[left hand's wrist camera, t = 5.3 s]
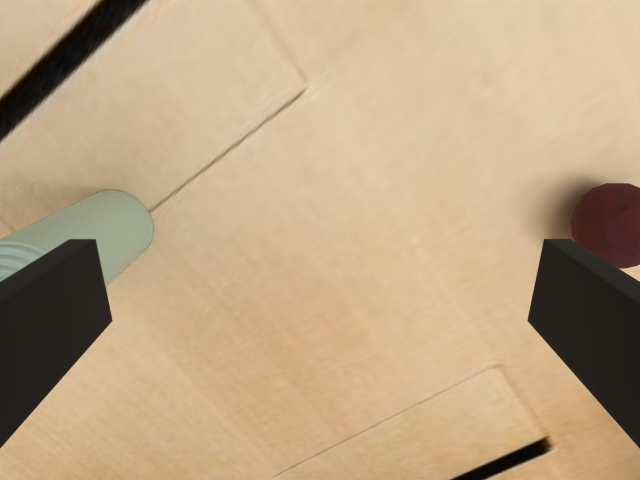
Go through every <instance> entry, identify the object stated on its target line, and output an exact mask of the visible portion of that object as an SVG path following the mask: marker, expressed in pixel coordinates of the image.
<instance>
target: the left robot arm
mask: <svg viewBox="0 0 640 480" xmlns="http://www.w3.org/2000/svg"><path fill="white" fill-rule="evenodd" d="M111 322H112V316H111V311H110V306H109V301H108V296H107V291H106V287H105V282H104V277H103V272H102V267H101V262H100V257H99V252H98V247H97V242H96V239H69V240H67V241H66V242H64V243H62V244H61V245H59V246H58V247H56V248H54V249H53V250H51V251H49V252H48V253H46V254H45V255H43V256H41V257H40V258H38V259H36V260H35V261H33V262H32V263H30V264H28V265H27V266H25V267H23V268H22V269H20V270H19V271H17V272H15V273H14V274H12V275H10V276H9V277H7V278H6V279H4V280H2V281H1V282H0V448H1V447H2V446H3V445H4V443H5V442H6V441H7V440H8V439H9V438H10V437H11V436H12V434H13V433H14V432H15V431H16V430H17V429H18V428H19V426H20V425H21V424H22V423H23V422H24V421H25V420H26V418H27V417H28V416H29V415H30V414H31V413H32V412H33V410H34V409H35V408H36V407H37V406H38V405H39V404H40V403H41V401H42V400H43V399H44V398H45V397H46V396H47V395H48V393H49V392H50V391H51V390H52V389H53V388H54V387H55V385H56V384H57V383H58V382H59V381H60V380H61V379H62V378H63V376H64V375H65V374H66V373H67V372H68V371H69V370H70V368H71V367H72V366H73V365H74V364H75V363H76V362H77V360H78V359H79V358H80V357H81V356H82V355H83V354H84V353H85V351H86V350H87V349H88V348H89V347H90V346H91V345H92V343H93V342H94V341H95V340H96V339H97V338H98V337H99V335H100V334H101V333H102V332H103V331H104V330H105V329H106V327H107V326H108V325H109V324H110V323H111ZM528 322H529V323H530V324H531V325H532V326H533V327H534V329H535V330H536V331H537V332H538V333H539V334H540V335H541V337H542V338H543V339H544V340H545V341H546V342H547V343H548V345H549V346H550V347H551V348H552V349H553V350H554V351H555V353H556V354H557V355H558V356H559V357H560V358H561V359H562V360H563V362H564V363H565V364H566V365H567V366H568V367H569V368H570V370H571V371H572V372H573V373H574V374H575V375H576V376H577V378H578V379H579V380H580V381H581V382H582V383H583V384H584V385H585V387H586V388H587V389H588V390H589V391H590V392H591V393H592V395H593V396H594V397H595V398H596V399H597V400H598V401H599V403H600V404H601V405H602V406H603V407H604V408H605V409H606V410H607V412H608V413H609V414H610V415H611V416H612V417H613V418H614V420H615V421H616V422H617V423H618V424H619V425H620V426H621V428H622V429H623V430H624V431H625V432H626V433H627V434H628V436H629V437H630V438H631V439H632V440H633V441H634V442H635V443H636V445H637V446H638V447H639V448H640V282H639V281H638V280H636V279H634V278H633V277H631V276H630V275H628V274H626V273H625V272H623V271H621V270H620V269H618V268H617V267H615V266H613V265H612V264H610V263H608V262H607V261H605V260H604V259H602V258H600V257H599V256H597V255H595V254H594V253H592V252H591V251H589V250H587V249H586V248H584V247H582V246H581V245H579V244H578V243H576V242H574V241H573V240H571V239H544V242H543V247H542V252H541V257H540V262H539V267H538V272H537V277H536V282H535V287H534V291H533V296H532V301H531V306H530V311H529V316H528Z"/></svg>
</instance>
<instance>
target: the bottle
mask: <svg viewBox="0 0 640 480" xmlns="http://www.w3.org/2000/svg"><path fill="white" fill-rule="evenodd" d="M152 237H153V222H152V219H151V216H150V214H149V212H148V211H147V209H146V208H145V206H144V205H143V204H142V203H141V202H140V201H139V200H137V199H136V198H135V197H133V196H131V195H129V194H127V193H125V192H122V191H117V190H104V191H100V192H97V193H95V194H93V195H91V196H89V197H87V198H85V199H83V200H81V201H79V202H77V203H75V204H73V205H71V206H68V207H66V208H64V209H62V210H60V211H58V212H56V213H54V214H52V215H50V216H48V217H46V218H44V219H42V220H40V221H37V222H35V223H33V224H31V225H29V226H27V227H25V228H23V229H21V230H19V231H17V232H15V233H13V234H11V235H9V236H6V237H4V238H2V239H0V282H1V281H2V280H4V279H6V278H7V277H9V276H10V275H12V274H14V273H15V272H17V271H19V270H20V269H22V268H23V267H25V266H27V265H28V264H30V263H32V262H33V261H35V260H36V259H38V258H40V257H41V256H43V255H45V254H46V253H48V252H49V251H51V250H53V249H54V248H56V247H58V246H59V245H61V244H62V243H64V242H66V241H67V240H69V239H96V242H97V247H98V252H99V257H100V262H101V267H102V272H103V277H104V282H105V287H106V286H107V285H109V284H110V283H111V282H112V281H113V280H114V279H115V278H116V277H117V276H118V275H119V274H120V273H121V272H122V271H123V270H124V269H125V268H127V267H128V266H129V265H130V264H131V263H132V262H133V261H134V260H135V259H136V258H137V257H138V256H139V255H140V254H141V253H142V252H143V251H145V250H146V248H147V247H148V246H149V244H150V243H151V240H152Z"/></svg>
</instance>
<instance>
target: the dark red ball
mask: <svg viewBox="0 0 640 480" xmlns="http://www.w3.org/2000/svg"><path fill="white" fill-rule="evenodd" d="M571 224H572V237H573V239H574V241H575V242H576V243H578V244H579V245H581V246H582V247H584V248H586V249H587V250H589V251H591V252H592V253H594V254H595V255H597V256H599V257H600V258H602V259H604V260H605V261H607V262H608V263H610V264H612V265H613V266H615V267H617V268H619V269H622V268H629V267H634V266H637V265H640V188H639V187H636V186H634V185H631V184H623V183H607V184H604V185H601V186H598V187H595V188H593V189H591V190H590V191H589V192H588V193H586V194H585V195H584V196H583V197H582V198H581V200H580V201H579V203H578V204H577V206H576V209H575V212H574V216H573V219H572V223H571Z"/></svg>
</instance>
